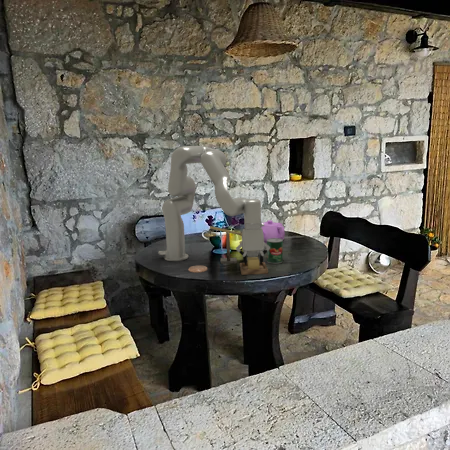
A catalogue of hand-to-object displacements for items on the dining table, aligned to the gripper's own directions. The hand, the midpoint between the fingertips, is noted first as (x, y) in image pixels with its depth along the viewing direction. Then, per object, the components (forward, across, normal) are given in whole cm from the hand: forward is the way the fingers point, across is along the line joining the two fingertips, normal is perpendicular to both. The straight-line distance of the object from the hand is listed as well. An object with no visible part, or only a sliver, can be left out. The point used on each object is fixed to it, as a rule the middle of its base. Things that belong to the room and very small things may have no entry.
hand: (253, 263), depth 188 cm
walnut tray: (+3, 0, 0) cm, 3 cm away
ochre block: (+3, 0, 0) cm, 3 cm away
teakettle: (+3, -15, -57) cm, 59 cm away
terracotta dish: (+3, +26, -4) cm, 26 cm away
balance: (+3, +11, -15) cm, 19 cm away
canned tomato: (+3, -12, -13) cm, 18 cm away
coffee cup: (+3, -2, -25) cm, 25 cm away
